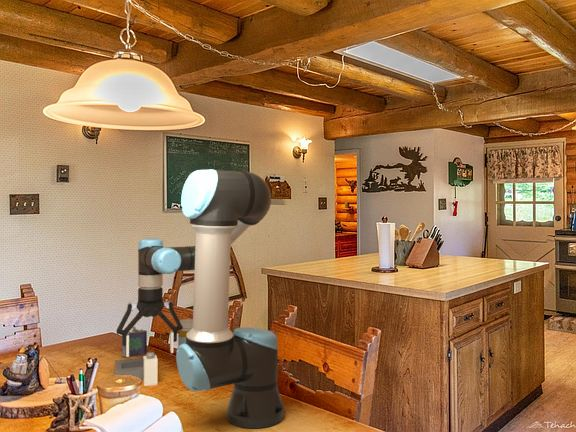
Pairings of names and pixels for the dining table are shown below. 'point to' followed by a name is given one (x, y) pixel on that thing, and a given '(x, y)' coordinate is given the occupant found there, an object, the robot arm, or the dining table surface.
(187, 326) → the bottle
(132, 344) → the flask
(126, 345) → the robot arm
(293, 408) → the dining table surface
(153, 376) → the cream rectangular container
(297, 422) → the dining table surface
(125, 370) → the socket
